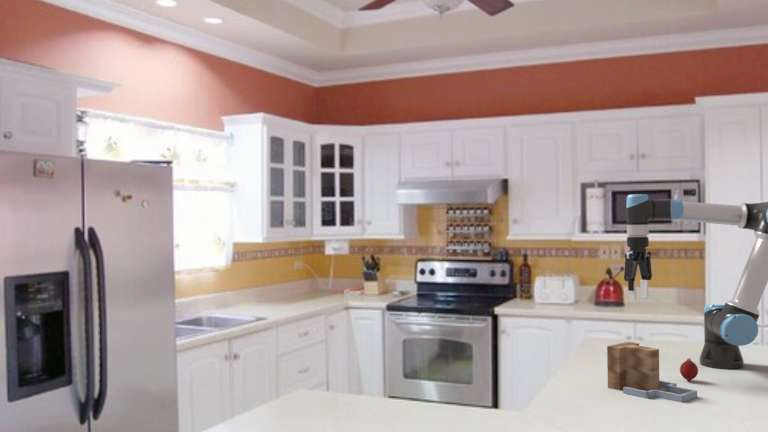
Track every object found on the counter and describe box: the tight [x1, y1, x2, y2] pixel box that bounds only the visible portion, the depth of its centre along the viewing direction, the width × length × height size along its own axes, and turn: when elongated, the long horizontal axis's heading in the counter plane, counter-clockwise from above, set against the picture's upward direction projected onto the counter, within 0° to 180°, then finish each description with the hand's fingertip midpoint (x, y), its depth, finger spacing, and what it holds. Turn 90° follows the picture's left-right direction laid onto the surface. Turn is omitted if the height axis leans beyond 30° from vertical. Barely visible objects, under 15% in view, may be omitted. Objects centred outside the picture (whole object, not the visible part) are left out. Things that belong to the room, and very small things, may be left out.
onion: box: [679, 357, 699, 382], centre depth 246 cm, size 6×6×8 cm
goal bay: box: [622, 379, 698, 403], centre depth 229 cm, size 18×17×2 cm
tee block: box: [606, 341, 660, 391], centre depth 237 cm, size 14×12×14 cm
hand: (638, 298), depth 260 cm, fingers open, 7 cm apart
